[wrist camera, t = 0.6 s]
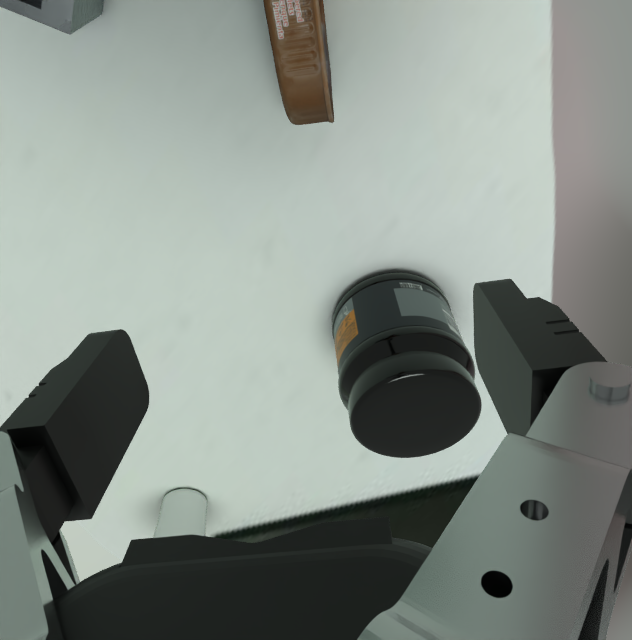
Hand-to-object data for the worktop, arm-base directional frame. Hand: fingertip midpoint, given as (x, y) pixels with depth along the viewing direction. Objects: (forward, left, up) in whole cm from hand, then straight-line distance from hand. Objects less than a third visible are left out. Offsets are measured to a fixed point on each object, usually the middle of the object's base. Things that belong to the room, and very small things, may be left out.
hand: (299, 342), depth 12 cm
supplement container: (+16, -16, -27) cm, 35 cm away
